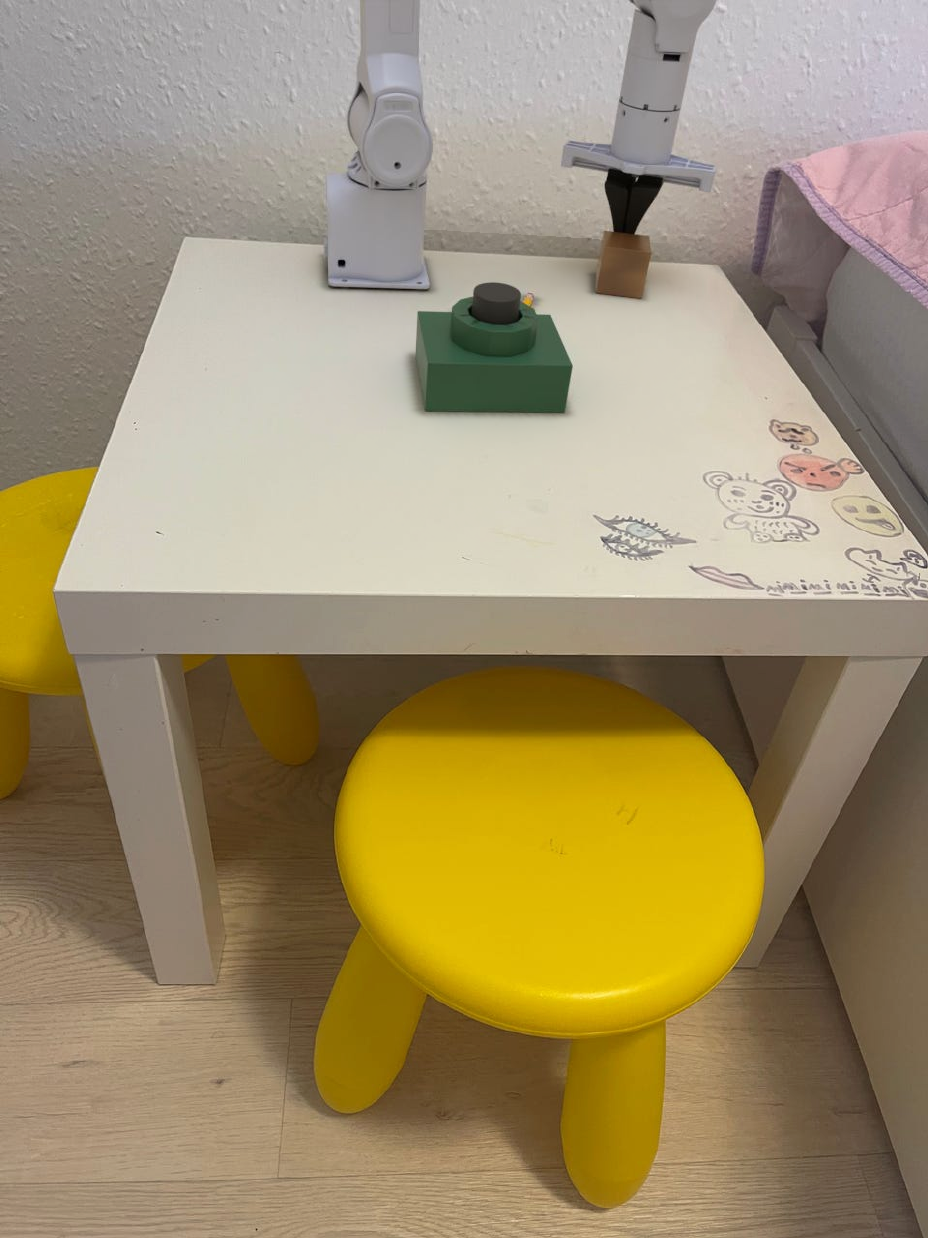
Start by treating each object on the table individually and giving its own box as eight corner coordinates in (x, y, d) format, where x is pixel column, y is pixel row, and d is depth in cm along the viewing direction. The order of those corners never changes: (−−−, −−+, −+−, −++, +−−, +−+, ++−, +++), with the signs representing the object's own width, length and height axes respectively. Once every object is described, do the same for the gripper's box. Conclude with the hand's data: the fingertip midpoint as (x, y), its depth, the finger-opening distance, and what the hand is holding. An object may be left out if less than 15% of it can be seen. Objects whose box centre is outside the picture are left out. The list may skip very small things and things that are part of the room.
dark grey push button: (474, 327, 69) (477, 300, 68) (468, 306, 72) (470, 281, 70) (521, 328, 70) (524, 302, 68) (513, 308, 72) (517, 282, 71)
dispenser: (424, 411, 70) (429, 337, 66) (415, 356, 77) (418, 286, 73) (564, 412, 72) (577, 340, 68) (543, 359, 79) (553, 290, 75)
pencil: (533, 300, 88) (534, 293, 87) (517, 337, 82) (517, 329, 81) (525, 299, 88) (526, 292, 88) (508, 336, 82) (509, 328, 81)
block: (595, 292, 90) (604, 246, 87) (595, 275, 94) (603, 230, 91) (641, 298, 90) (651, 252, 87) (639, 280, 93) (649, 235, 90)
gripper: (563, 100, 83) (543, 252, 92) (724, 126, 80) (687, 280, 89) (579, 84, 88) (558, 229, 97) (731, 108, 85) (695, 255, 94)
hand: (621, 252), depth 94 cm, fingers closed
